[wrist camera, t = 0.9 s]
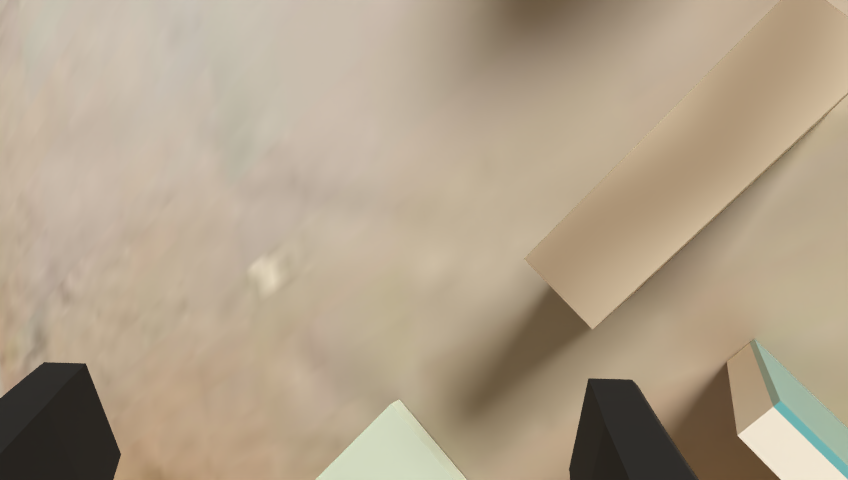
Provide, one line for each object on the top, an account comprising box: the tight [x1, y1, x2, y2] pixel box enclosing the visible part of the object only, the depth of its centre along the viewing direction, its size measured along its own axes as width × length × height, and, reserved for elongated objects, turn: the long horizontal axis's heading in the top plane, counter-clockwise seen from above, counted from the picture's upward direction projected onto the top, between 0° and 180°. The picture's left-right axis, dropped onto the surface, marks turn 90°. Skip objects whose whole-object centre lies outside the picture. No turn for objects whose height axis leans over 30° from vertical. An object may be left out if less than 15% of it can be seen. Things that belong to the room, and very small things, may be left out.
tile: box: [727, 339, 848, 480], centre depth 18 cm, size 6×1×9 cm, turn 45°
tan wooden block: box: [524, 0, 848, 330], centre depth 20 cm, size 2×9×8 cm, turn 135°
